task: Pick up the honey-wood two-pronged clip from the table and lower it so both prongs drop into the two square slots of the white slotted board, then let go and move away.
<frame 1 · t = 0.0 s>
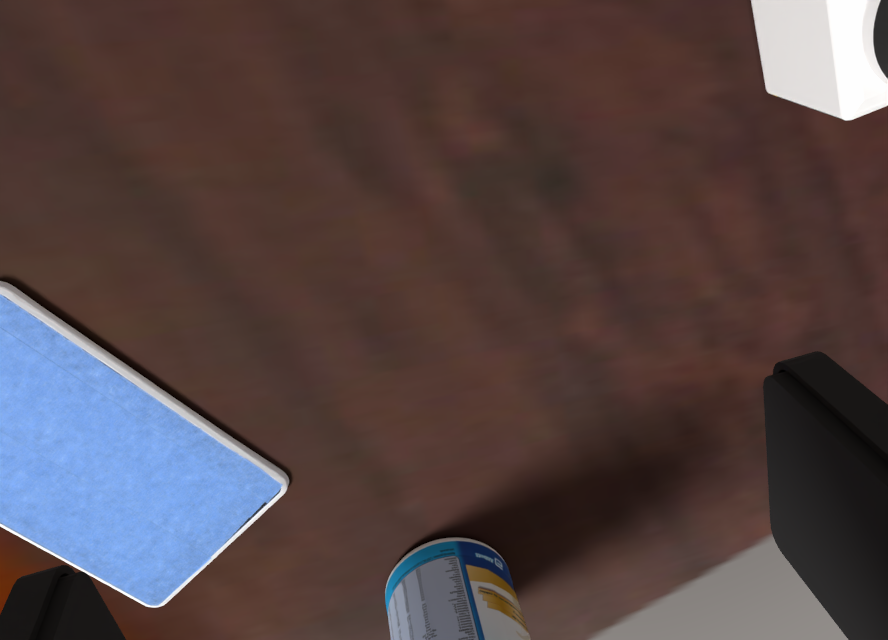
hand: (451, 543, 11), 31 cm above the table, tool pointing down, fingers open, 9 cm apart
tablet computer: (89, 452, 46), on the table
beverage bottle: (446, 580, 53), on the table
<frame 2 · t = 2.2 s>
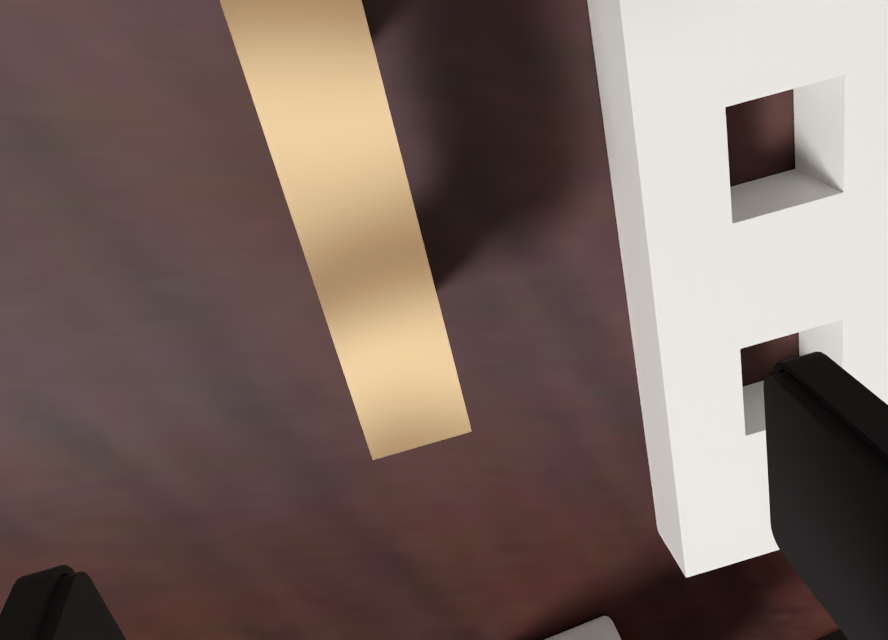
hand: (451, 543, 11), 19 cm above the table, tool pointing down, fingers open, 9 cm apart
clip: (345, 166, 27), on the table
white slotted board: (747, 243, 31), on the table
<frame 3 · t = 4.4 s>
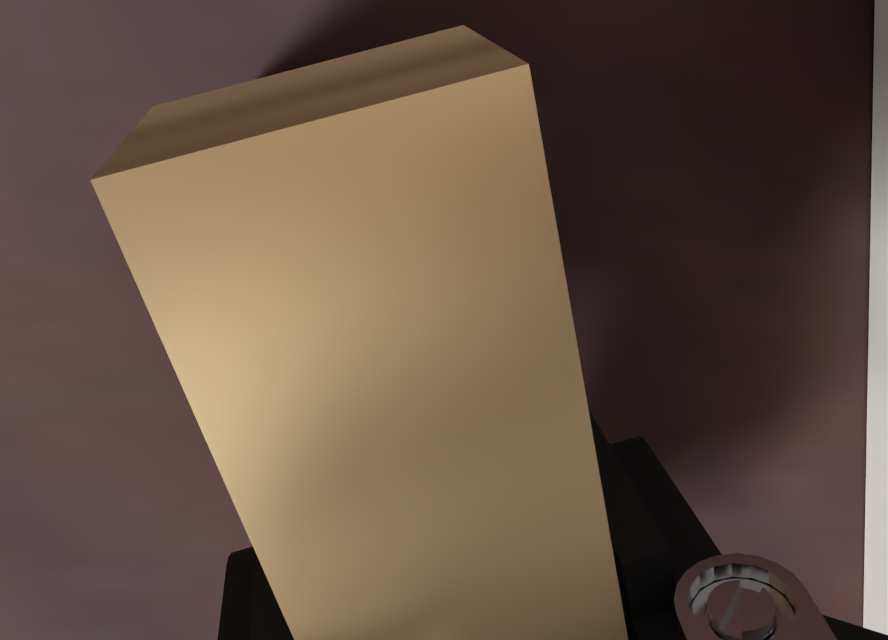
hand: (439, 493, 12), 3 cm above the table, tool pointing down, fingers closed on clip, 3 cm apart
clip: (411, 379, 15), on the table, touching gripper
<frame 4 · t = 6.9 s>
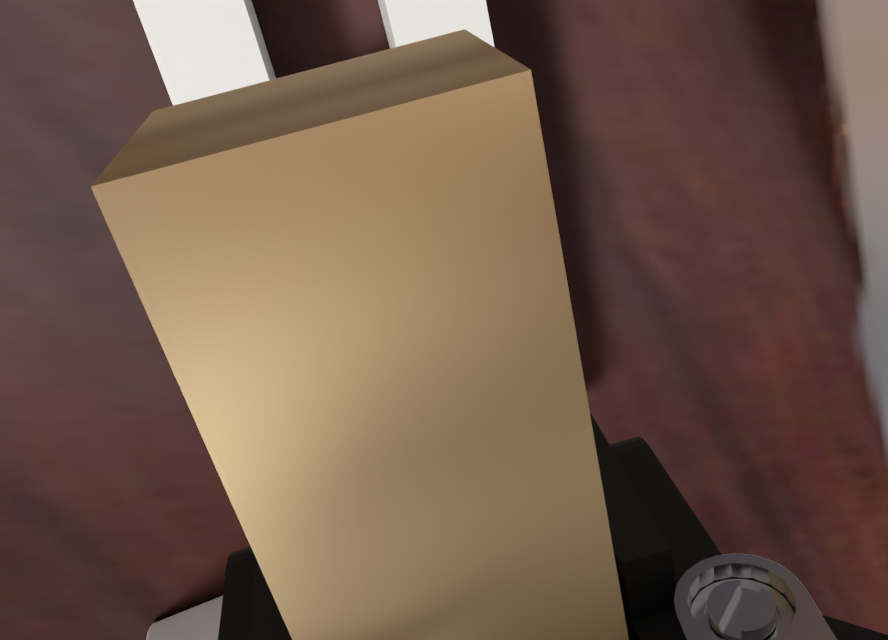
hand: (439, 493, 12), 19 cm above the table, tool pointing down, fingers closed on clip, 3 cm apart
clip: (412, 381, 15), point 16 cm above the table, touching gripper
white slotted board: (360, 159, 29), on the table
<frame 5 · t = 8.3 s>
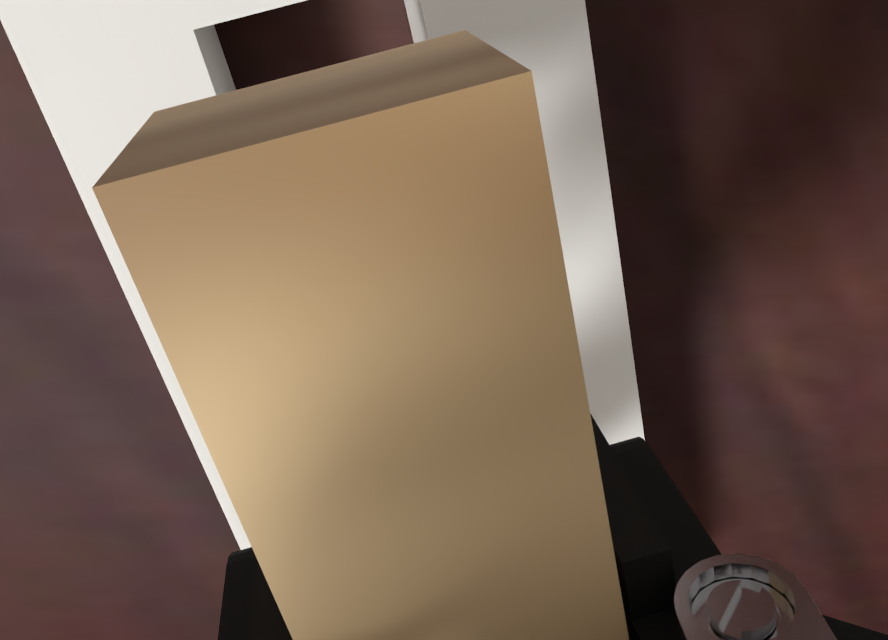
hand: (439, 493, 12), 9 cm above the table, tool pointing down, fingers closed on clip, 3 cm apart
clip: (412, 382, 15), point 6 cm above the table, touching gripper
white slotted board: (382, 267, 20), on the table
when the fingers open (5 cm above the table, at t = 9.4 s): clip drops 1 cm, on the table.
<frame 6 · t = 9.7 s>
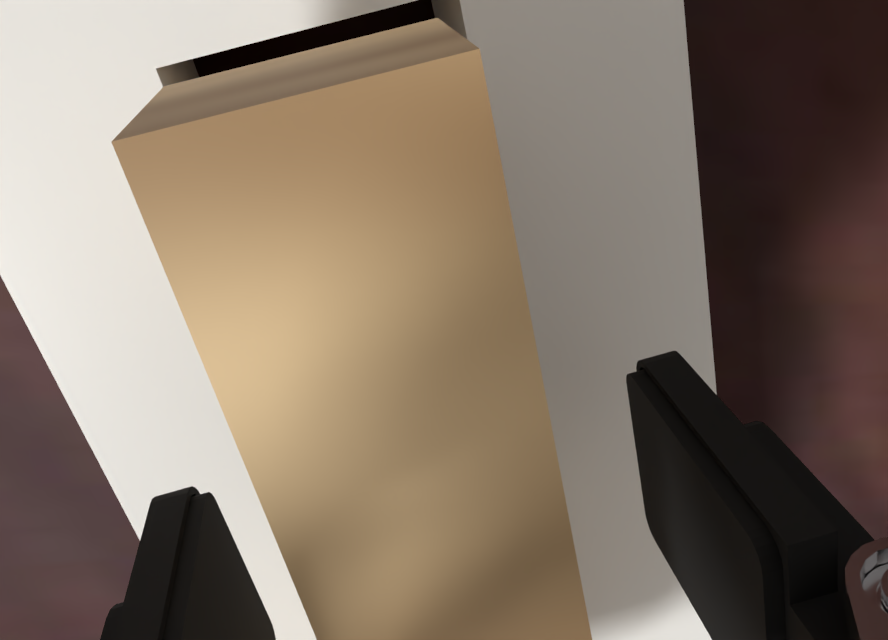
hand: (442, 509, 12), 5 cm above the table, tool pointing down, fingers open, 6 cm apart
clip: (401, 351, 16), on the table
white slotted board: (404, 350, 16), on the table
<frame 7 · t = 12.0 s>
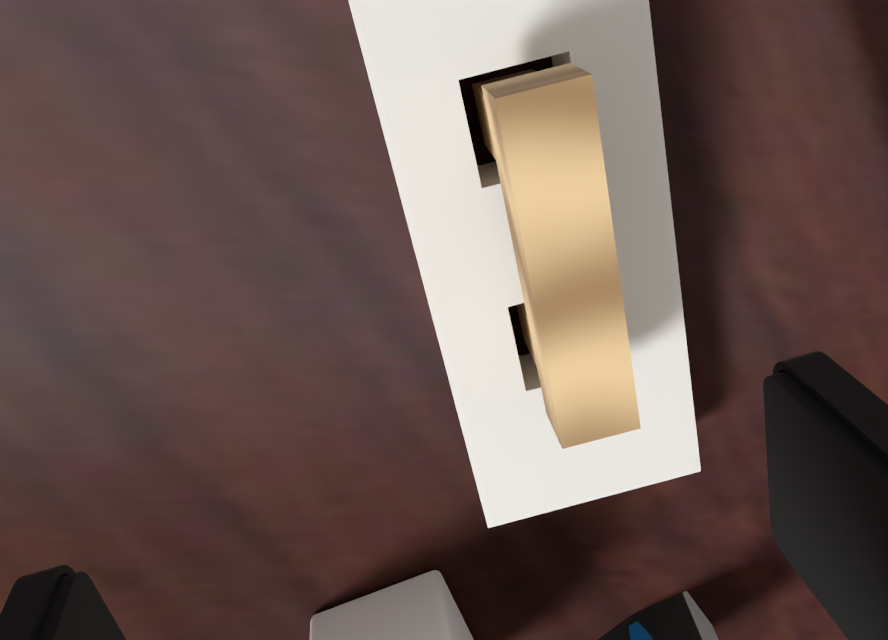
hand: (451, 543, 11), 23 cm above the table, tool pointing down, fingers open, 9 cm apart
padlock: (646, 635, 45), on the table
clip: (527, 213, 34), on the table
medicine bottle: (398, 633, 43), on the table
white slotted board: (528, 213, 34), on the table
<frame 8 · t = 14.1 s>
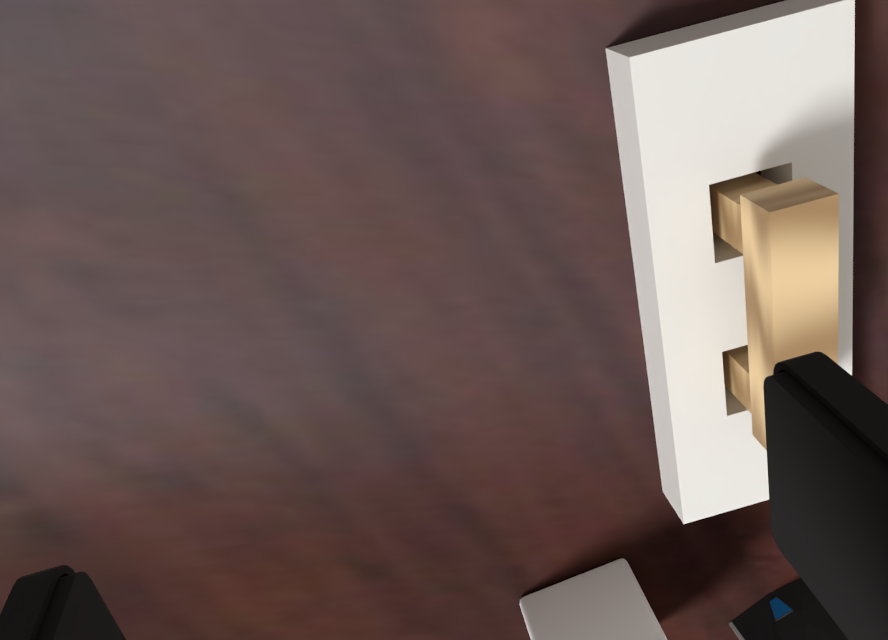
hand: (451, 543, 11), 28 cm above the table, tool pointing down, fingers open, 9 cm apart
padlock: (779, 609, 55), on the table
clip: (727, 275, 43), on the table
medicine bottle: (584, 611, 52), on the table
white slotted board: (728, 275, 43), on the table
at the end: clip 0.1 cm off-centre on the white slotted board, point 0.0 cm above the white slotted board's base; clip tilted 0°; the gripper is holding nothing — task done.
